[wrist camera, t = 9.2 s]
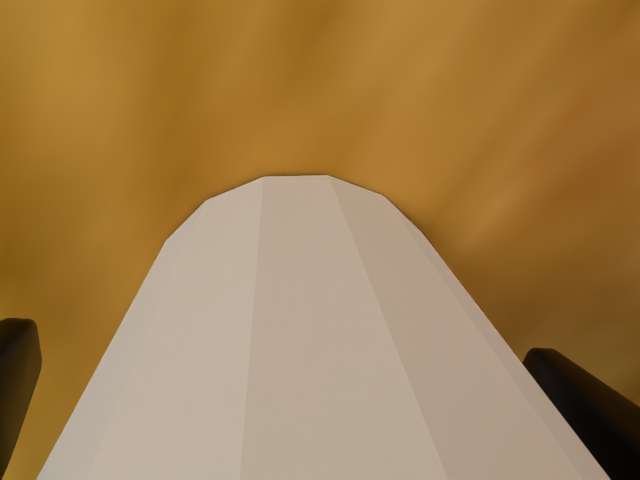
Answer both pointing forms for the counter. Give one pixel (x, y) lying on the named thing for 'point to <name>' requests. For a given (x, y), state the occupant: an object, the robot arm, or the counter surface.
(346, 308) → the shot glass
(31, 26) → the counter surface
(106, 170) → the counter surface
